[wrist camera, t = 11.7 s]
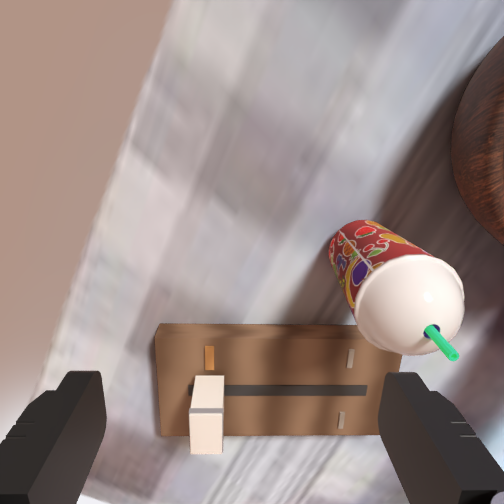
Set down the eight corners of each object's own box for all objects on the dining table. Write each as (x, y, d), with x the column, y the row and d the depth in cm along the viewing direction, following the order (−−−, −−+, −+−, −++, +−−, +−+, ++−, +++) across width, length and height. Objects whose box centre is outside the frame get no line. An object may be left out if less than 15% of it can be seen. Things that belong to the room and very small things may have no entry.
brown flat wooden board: (394, 325, 45) (406, 341, 42) (377, 416, 50) (386, 436, 47) (159, 323, 44) (153, 339, 41) (165, 417, 49) (160, 438, 46)
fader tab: (225, 374, 42) (223, 414, 37) (224, 411, 44) (222, 454, 39) (194, 374, 42) (188, 415, 37) (195, 411, 44) (189, 454, 39)
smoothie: (303, 256, 42) (357, 374, 23) (351, 194, 39) (454, 268, 21) (360, 293, 44) (453, 430, 25) (409, 236, 41) (552, 339, 23)
